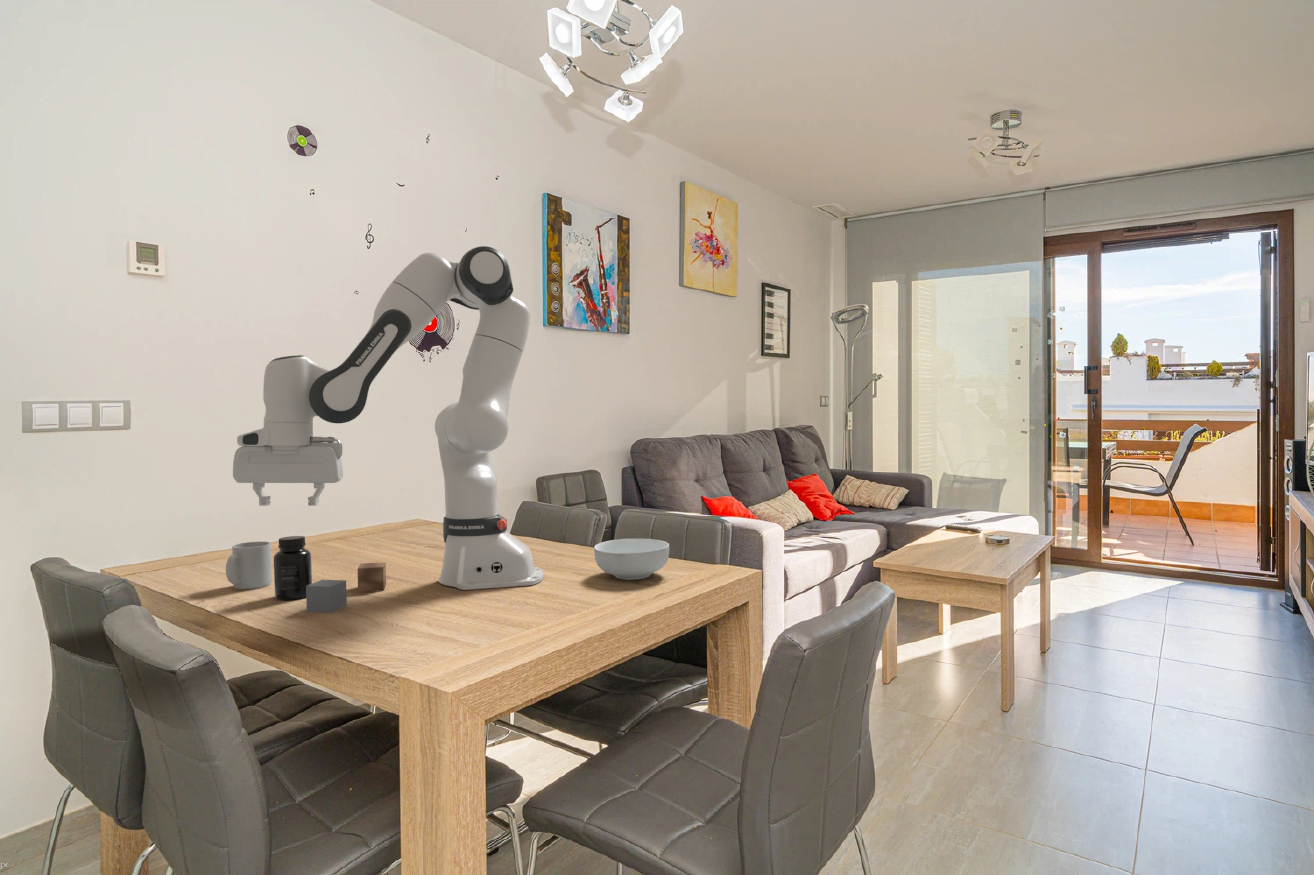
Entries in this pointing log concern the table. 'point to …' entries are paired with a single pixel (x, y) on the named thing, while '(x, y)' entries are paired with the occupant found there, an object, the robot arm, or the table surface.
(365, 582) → the walnut block
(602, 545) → the cereal bowl
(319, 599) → the charcoal block
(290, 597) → the supplement bottle
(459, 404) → the robot arm
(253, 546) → the cup
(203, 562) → the table surface
